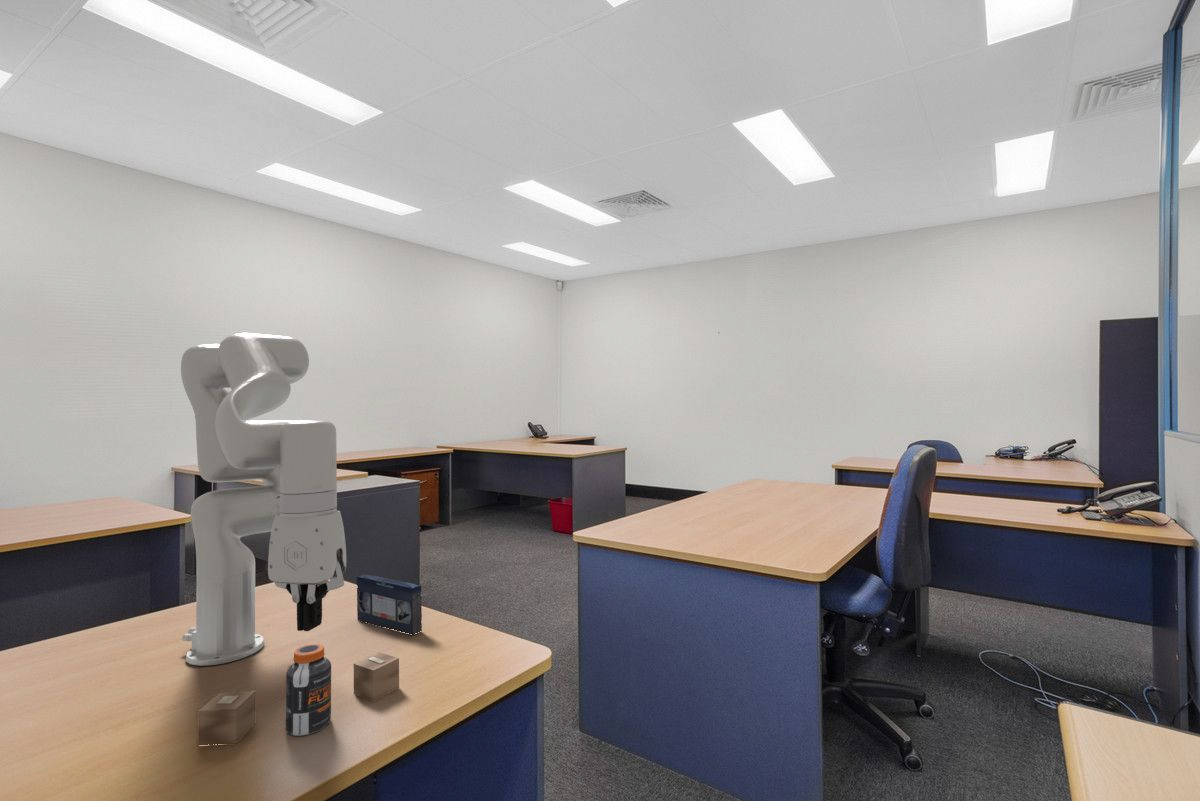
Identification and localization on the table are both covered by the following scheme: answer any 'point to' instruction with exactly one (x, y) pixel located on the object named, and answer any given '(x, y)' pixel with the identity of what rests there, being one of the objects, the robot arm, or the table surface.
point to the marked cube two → (376, 676)
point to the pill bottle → (308, 691)
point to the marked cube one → (226, 718)
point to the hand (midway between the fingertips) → (309, 627)
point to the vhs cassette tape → (389, 603)
